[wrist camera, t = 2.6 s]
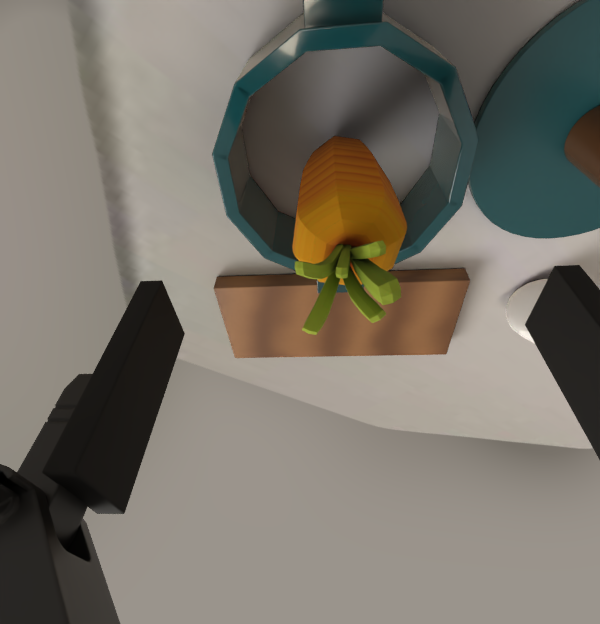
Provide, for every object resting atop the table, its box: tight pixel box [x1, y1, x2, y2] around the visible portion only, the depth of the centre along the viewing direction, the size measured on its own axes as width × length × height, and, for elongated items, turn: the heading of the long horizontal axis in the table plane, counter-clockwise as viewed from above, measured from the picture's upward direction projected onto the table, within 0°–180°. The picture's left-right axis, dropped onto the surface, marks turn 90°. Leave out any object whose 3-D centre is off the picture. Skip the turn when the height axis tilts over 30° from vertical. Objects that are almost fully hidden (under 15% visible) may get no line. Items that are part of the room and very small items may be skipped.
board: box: [214, 269, 470, 358], centre depth 33 cm, size 20×9×2 cm, turn 94°
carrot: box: [292, 136, 407, 335], centre depth 18 cm, size 5×5×15 cm
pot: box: [212, 0, 479, 293], centre depth 21 cm, size 13×17×5 cm
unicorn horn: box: [506, 279, 548, 344], centre depth 34 cm, size 5×24×5 cm, turn 47°
